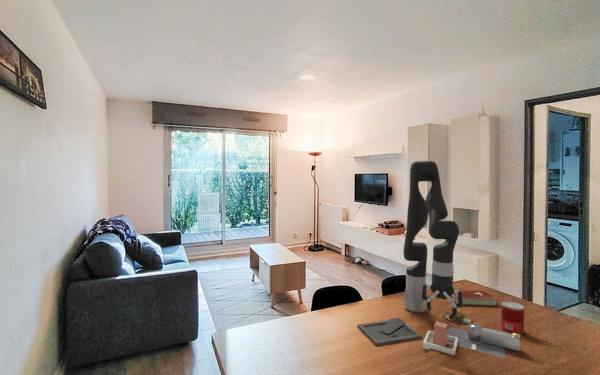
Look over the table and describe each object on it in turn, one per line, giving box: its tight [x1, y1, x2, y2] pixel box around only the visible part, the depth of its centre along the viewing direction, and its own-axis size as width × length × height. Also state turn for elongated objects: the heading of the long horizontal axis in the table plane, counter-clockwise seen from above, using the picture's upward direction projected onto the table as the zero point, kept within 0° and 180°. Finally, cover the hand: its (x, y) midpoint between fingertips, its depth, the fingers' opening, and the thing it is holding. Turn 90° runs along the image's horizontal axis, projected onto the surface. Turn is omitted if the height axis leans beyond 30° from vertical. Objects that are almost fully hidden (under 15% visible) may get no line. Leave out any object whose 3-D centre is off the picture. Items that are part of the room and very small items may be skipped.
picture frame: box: [356, 317, 423, 347], centre depth 132 cm, size 16×2×21 cm
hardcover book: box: [452, 289, 498, 306], centre depth 167 cm, size 12×21×4 cm, turn 86°
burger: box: [442, 308, 473, 325], centre depth 143 cm, size 12×12×8 cm
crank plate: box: [447, 326, 506, 359], centre depth 123 cm, size 20×15×1 cm
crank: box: [467, 322, 521, 352], centre depth 121 cm, size 17×5×6 cm, turn 58°
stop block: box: [433, 320, 448, 347], centre depth 121 cm, size 4×4×8 cm
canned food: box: [500, 301, 525, 335], centre depth 134 cm, size 8×8×11 cm
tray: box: [422, 330, 458, 356], centre depth 121 cm, size 11×11×3 cm
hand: (441, 313), depth 121 cm, fingers open, 8 cm apart
